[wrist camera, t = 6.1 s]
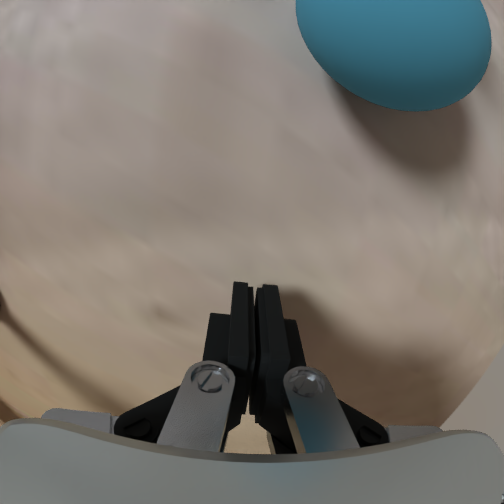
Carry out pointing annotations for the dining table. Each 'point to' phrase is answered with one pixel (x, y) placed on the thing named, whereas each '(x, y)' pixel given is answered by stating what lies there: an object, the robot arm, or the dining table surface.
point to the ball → (399, 48)
